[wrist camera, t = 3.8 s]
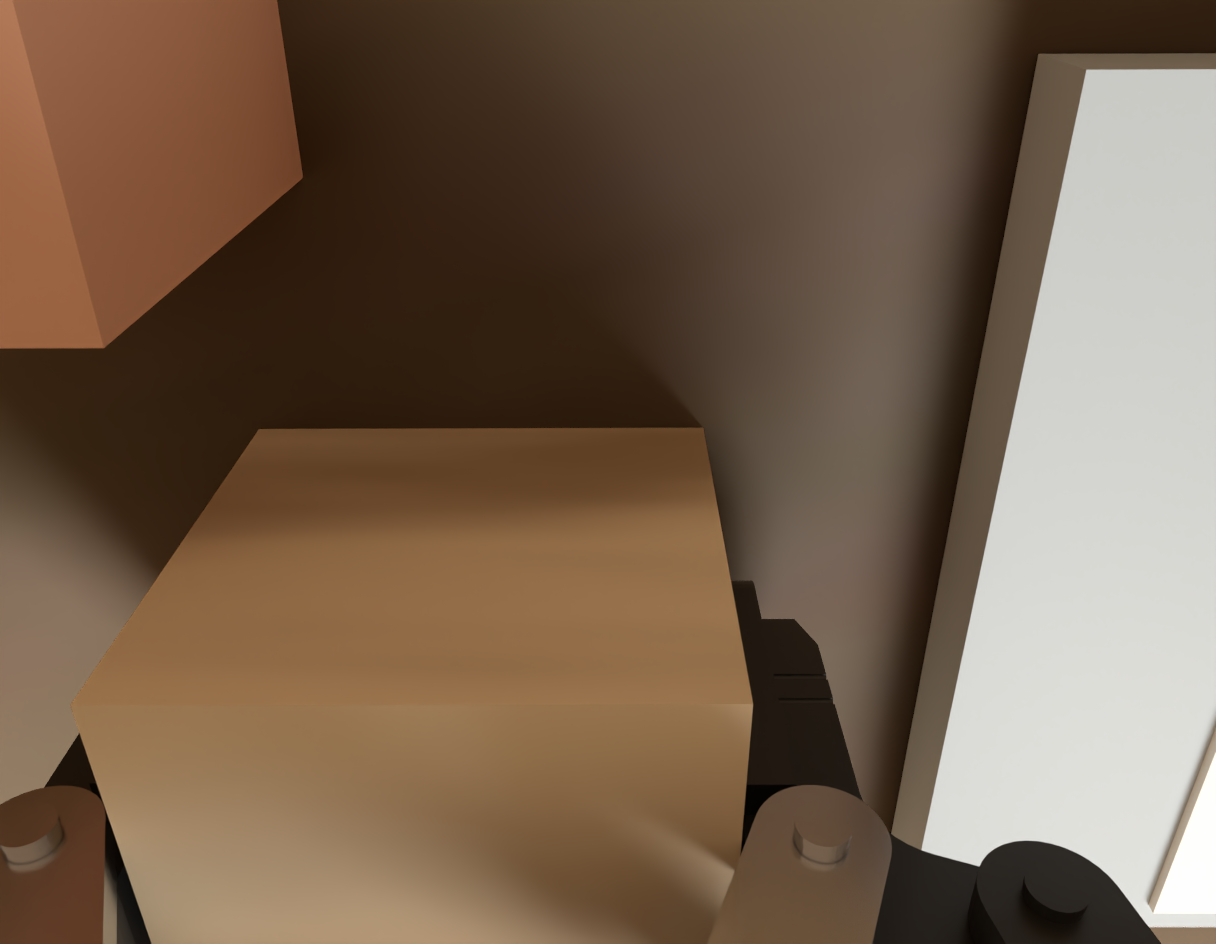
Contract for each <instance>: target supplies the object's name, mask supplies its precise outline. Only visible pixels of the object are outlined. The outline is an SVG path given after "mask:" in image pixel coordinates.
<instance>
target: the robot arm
mask: <svg viewBox="0 0 1216 944" xmlns="http://www.w3.org/2000/svg"><path fill="white" fill-rule="evenodd" d="M731 584H732V589H733V595H734V601H735V606H736V612H737V617H738V623H739V628H740V634H741V639H742V645H743V651H744V656H745V662H746V667H747V673H748V678H749V684H750V689H751V695H752V700H753V712H752V724H751V736H750V748H749V759H748V771H747V783H746V795H745V807H744V819H743V830H742V842H741V854H740V858H739V861H738V864H737V866H736V869H735V872H734V874H733V877H732V879H731V882H730V885H729V887H728V890H727V893H726V895H725V898H724V900H723V903H722V906H721V908H720V911H719V914H718V916H717V919H716V921H715V924H714V927H713V929H712V932H711V935H710V937H709V940H708V942H707V944H1161V943H1160V941H1159V940H1158V939H1157V937H1156V936H1155V935H1154V933H1153V932H1152V931H1151V929H1150V928H1149V927H1148V925H1147V924H1146V923H1145V921H1144V920H1143V919H1142V917H1141V916H1140V915H1139V913H1138V912H1137V911H1136V909H1135V908H1134V907H1133V906H1132V904H1131V903H1130V902H1129V900H1128V899H1127V898H1126V896H1125V895H1124V894H1123V892H1122V891H1121V890H1120V888H1119V887H1118V886H1117V885H1116V883H1115V882H1114V881H1113V880H1112V879H1111V878H1110V877H1109V876H1108V875H1107V874H1106V873H1105V872H1104V871H1103V870H1102V869H1101V868H1099V867H1098V866H1097V865H1095V864H1094V863H1092V862H1091V861H1090V860H1088V859H1086V858H1085V857H1083V856H1081V855H1079V854H1077V853H1075V852H1073V851H1071V850H1068V849H1066V848H1064V847H1061V846H1057V845H1054V844H1051V843H1045V842H1040V841H1014V842H1010V843H1007V844H1003V845H1001V846H999V847H997V848H995V849H994V850H992V851H991V852H990V853H988V854H987V855H986V857H985V858H984V859H983V860H982V862H981V864H980V866H976V865H972V864H968V863H965V862H961V861H957V860H953V859H950V858H946V857H942V856H938V855H935V854H932V853H928V852H925V851H922V850H920V849H917V848H915V847H913V846H911V845H908V844H907V843H905V842H903V841H901V840H900V839H898V838H896V837H895V836H894V835H892V834H891V833H889V832H888V829H887V828H886V826H885V824H884V822H883V821H882V819H881V818H880V817H879V816H878V814H877V813H876V812H875V811H874V810H873V809H872V808H871V807H869V806H868V805H867V804H866V803H864V802H863V800H862V798H861V795H860V792H859V789H858V785H857V782H856V778H855V775H854V771H853V768H852V764H851V761H850V757H849V754H848V750H847V747H846V743H845V739H844V736H843V732H842V729H841V725H840V722H839V718H838V715H837V711H836V708H835V704H833V697H832V694H831V690H830V686H829V683H828V680H826V672H825V669H824V665H823V662H822V658H821V655H820V651H819V648H818V645H817V643H816V642H815V641H814V640H813V639H812V638H811V637H810V636H809V635H808V634H807V633H806V631H805V630H804V629H803V628H802V627H801V626H800V625H799V624H798V623H797V622H796V621H795V619H761V614H760V610H759V605H758V600H757V596H756V591H755V586H754V583H753V581H731ZM0 944H151V941H150V938H149V935H148V932H147V929H146V926H145V923H144V920H143V917H142V914H141V911H140V908H139V906H138V903H137V900H136V897H135V894H134V891H133V888H132V885H131V882H130V879H129V876H128V873H127V870H126V867H125V865H124V862H123V859H122V856H121V853H120V850H119V847H118V844H117V841H116V838H115V835H114V832H113V829H112V827H111V824H110V821H109V818H108V815H107V812H106V809H105V806H104V803H103V800H102V797H101V794H100V791H99V788H98V786H97V783H96V780H95V777H94V774H93V771H92V768H91V765H90V762H89V759H88V756H87V753H86V750H85V748H84V745H83V742H82V739H81V736H80V733H79V735H78V736H77V738H76V739H75V741H74V742H73V744H72V745H71V747H70V748H69V750H68V752H67V753H66V755H65V756H64V758H63V759H62V761H61V762H60V764H59V765H58V767H57V768H56V770H55V772H54V773H53V775H52V776H51V778H50V779H49V781H48V782H47V784H46V785H45V787H44V788H40V789H36V790H33V791H30V792H26V793H23V794H21V795H19V796H16V797H14V798H12V799H10V800H8V801H6V802H4V803H2V804H0Z"/></svg>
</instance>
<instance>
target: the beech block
mask: <svg viewBox="0 0 1216 944" xmlns="http://www.w3.org/2000/svg"><path fill="white" fill-rule="evenodd" d="M70 707H71V709H72V712H73V715H74V718H75V721H76V724H77V727H78V730H79V733H80V736H81V739H82V742H83V745H84V748H85V750H86V753H87V756H88V759H89V762H90V765H91V768H92V771H93V774H94V777H95V780H96V783H97V786H98V788H99V791H100V794H101V797H102V800H103V803H104V806H105V809H106V812H107V815H108V818H109V821H110V824H111V827H112V829H113V832H114V835H115V838H116V841H117V844H118V847H119V850H120V853H121V856H122V859H123V862H124V865H125V867H126V870H127V873H128V876H129V879H130V882H131V885H132V888H133V891H134V894H135V897H136V900H137V903H138V906H139V908H140V911H141V914H142V917H143V920H144V923H145V926H146V929H147V932H148V935H149V938H150V941H151V944H707V942H708V940H709V937H710V935H711V932H712V929H713V927H714V924H715V921H716V919H717V916H718V914H719V911H720V908H721V906H722V903H723V900H724V898H725V895H726V893H727V890H728V887H729V885H730V882H731V879H732V877H733V874H734V872H735V869H736V866H737V864H738V861H739V858H740V854H741V842H742V830H743V819H744V807H745V795H746V783H747V771H748V759H749V748H750V736H751V724H752V712H753V700H752V695H751V689H750V684H749V678H748V673H747V667H746V662H745V656H744V651H743V645H742V639H741V634H740V628H739V623H738V617H737V612H736V606H735V601H734V595H733V589H732V584H731V578H730V573H729V567H728V562H727V556H726V551H725V545H724V540H723V534H722V528H721V523H720V517H719V512H718V506H717V501H716V495H715V490H714V484H713V479H712V473H711V467H710V462H709V456H708V451H707V445H706V440H705V434H704V429H703V428H421V429H259V430H258V431H257V433H256V434H255V436H254V437H253V439H252V440H251V442H250V443H249V444H248V446H247V447H246V449H245V450H244V452H243V453H242V455H241V456H240V458H239V459H238V461H237V462H236V464H235V465H234V466H233V468H232V469H231V471H230V472H229V474H228V475H227V477H226V478H225V480H224V481H223V483H222V484H221V485H220V487H219V488H218V490H217V491H216V493H215V494H214V496H213V497H212V499H211V500H210V502H209V503H208V504H207V506H206V507H205V509H204V510H203V512H202V513H201V515H200V516H199V518H198V519H197V521H196V522H195V523H194V525H193V526H192V528H191V529H190V531H189V532H188V534H187V535H186V537H185V538H184V540H183V541H182V542H181V544H180V545H179V547H178V548H177V550H176V551H175V553H174V554H173V556H172V557H171V559H170V560H169V562H168V563H167V564H166V566H165V567H164V569H163V570H162V572H161V573H160V575H159V576H158V578H157V579H156V581H155V582H154V583H153V585H152V586H151V588H150V589H149V591H148V592H147V594H146V595H145V597H144V598H143V600H142V601H141V602H140V604H139V605H138V607H137V608H136V610H135V611H134V613H133V614H132V616H131V617H130V619H129V620H128V621H127V623H126V624H125V626H124V627H123V629H122V630H121V632H120V633H119V635H118V636H117V638H116V639H115V640H114V642H113V643H112V645H111V646H110V648H109V649H108V651H107V652H106V654H105V655H104V657H103V658H102V660H101V661H100V662H99V664H98V665H97V667H96V668H95V670H94V671H93V673H92V674H91V676H90V677H89V679H88V680H87V681H86V683H85V684H84V686H83V687H82V689H81V690H80V692H79V693H78V695H77V696H76V698H75V699H74V700H73V702H72V703H71V705H70Z"/></svg>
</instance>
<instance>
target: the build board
mask: <svg viewBox="0 0 1216 944" xmlns="http://www.w3.org/2000/svg"><path fill="white" fill-rule="evenodd" d="M891 834H892V835H894V836H895V837H896V838H898V839H900V840H901V841H903V842H905V843H907V844H908V845H911V846H913V847H915V848H917V849H920V850H922V851H925V852H928V853H932V854H935V855H938V856H942V857H946V858H950V859H953V860H957V861H961V862H965V863H968V864H972V865H976V866H980V864H981V862H982V860H983V859H984V858H985V857H986V855H987V854H988V853H990V852H991V851H992V850H994V849H995V848H997V847H999V846H1001V845H1003V844H1007V843H1010V842H1014V841H1040V842H1045V843H1051V844H1054V845H1057V846H1061V847H1064V848H1066V849H1068V850H1071V851H1073V852H1075V853H1077V854H1079V855H1081V856H1083V857H1085V858H1086V859H1088V860H1090V861H1091V862H1092V863H1094V864H1095V865H1097V866H1098V867H1099V868H1101V869H1102V870H1103V871H1104V872H1105V873H1106V874H1107V875H1108V876H1109V877H1110V878H1111V879H1112V880H1113V881H1114V882H1115V883H1116V885H1117V886H1118V887H1119V888H1120V890H1121V891H1122V892H1123V894H1124V895H1125V896H1126V898H1127V899H1128V900H1129V902H1130V903H1131V904H1132V906H1133V907H1134V908H1135V909H1136V911H1137V912H1138V913H1139V915H1140V916H1141V917H1142V919H1143V920H1144V921H1145V923H1146V924H1147V925H1148V927H1216V53H1170V54H1038V59H1037V64H1036V69H1035V75H1034V80H1033V85H1032V90H1031V96H1030V101H1029V106H1028V112H1027V117H1026V122H1025V128H1024V133H1023V138H1022V143H1021V149H1020V154H1019V159H1018V165H1017V170H1016V175H1015V180H1014V186H1013V191H1012V196H1011V202H1010V207H1009V212H1008V218H1007V223H1006V228H1005V233H1004V239H1003V244H1002V249H1001V255H1000V260H999V265H998V271H997V276H996V281H995V286H994V292H993V297H992V302H991V308H990V313H989V318H988V324H987V329H986V334H985V339H984V345H983V350H982V355H981V361H980V366H979V371H978V377H977V382H976V387H975V392H974V398H973V403H972V408H971V414H970V419H969V424H968V430H967V435H966V440H965V445H964V451H963V456H962V461H961V467H960V472H959V477H958V482H957V488H956V493H955V498H954V504H953V509H952V514H951V520H950V525H949V530H948V535H947V541H946V546H945V551H944V557H943V562H942V567H941V573H940V578H939V583H938V588H937V594H936V599H935V604H934V610H933V615H932V620H931V626H930V631H929V636H928V641H927V647H926V652H925V657H924V663H923V668H922V673H921V679H920V684H919V689H918V694H917V700H916V705H915V710H914V716H913V721H912V726H911V732H910V737H909V742H908V747H907V753H906V758H905V763H904V769H903V774H902V779H901V784H900V790H899V795H898V800H897V806H896V811H895V816H894V822H893V827H892V832H891Z"/></svg>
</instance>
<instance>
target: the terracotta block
mask: <svg viewBox="0 0 1216 944" xmlns="http://www.w3.org/2000/svg"><path fill="white" fill-rule="evenodd" d="M302 178H303V173H302V166H301V159H300V153H299V146H298V139H297V132H296V126H295V119H294V112H293V105H292V99H291V92H290V85H289V78H288V72H287V65H286V58H285V51H284V44H283V38H282V31H281V24H280V17H279V11H278V4H277V0H0V348H105V347H106V346H107V345H108V344H109V343H111V342H112V341H113V340H114V339H115V338H116V337H118V336H119V335H120V334H121V333H122V332H123V331H125V330H126V329H127V328H128V327H129V326H130V325H132V324H133V323H134V322H135V321H136V320H137V319H139V318H140V317H141V316H142V315H143V314H144V313H146V312H147V311H148V310H149V309H150V308H151V307H153V306H154V305H155V304H156V303H157V302H158V301H160V300H161V299H162V298H163V297H164V296H165V295H167V294H168V293H169V292H170V291H171V290H173V289H174V288H175V287H176V286H177V285H178V284H180V283H181V282H182V281H183V280H184V279H185V278H187V277H188V276H189V275H190V274H191V273H192V272H194V271H195V270H196V269H197V268H198V267H199V266H201V265H202V264H203V263H204V262H205V261H206V260H208V259H209V258H210V257H211V256H212V255H213V254H215V253H216V252H217V251H218V250H219V249H220V248H222V247H223V246H224V245H225V244H226V243H227V242H229V241H230V240H231V239H232V238H233V237H234V236H236V235H237V234H238V233H239V232H240V231H241V230H243V229H244V228H245V227H246V226H247V225H248V224H250V223H251V222H252V221H253V220H254V219H256V218H257V217H258V216H259V215H260V214H261V213H263V212H264V211H265V210H266V209H267V208H268V207H270V206H271V205H272V204H273V203H274V202H275V201H277V200H278V199H279V198H280V197H281V196H282V195H284V194H285V193H286V192H287V191H288V190H289V189H291V188H292V187H293V186H294V185H295V184H296V183H298V182H299V181H300V180H301V179H302Z"/></svg>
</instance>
